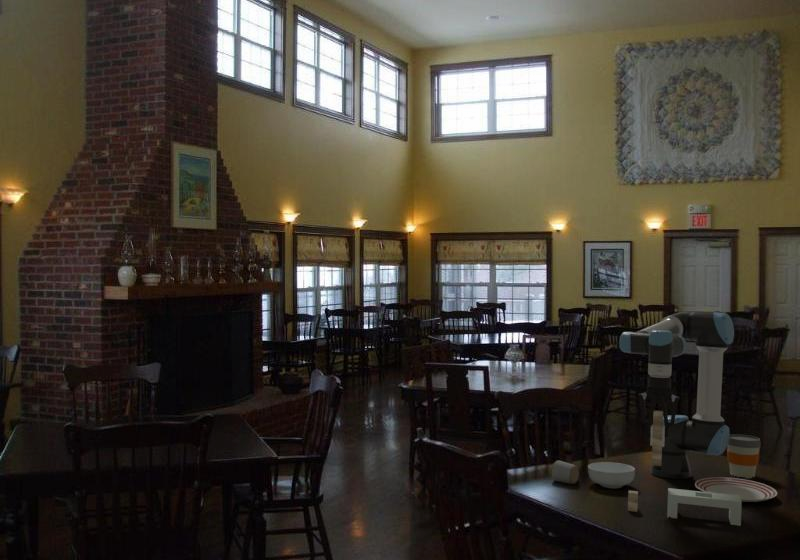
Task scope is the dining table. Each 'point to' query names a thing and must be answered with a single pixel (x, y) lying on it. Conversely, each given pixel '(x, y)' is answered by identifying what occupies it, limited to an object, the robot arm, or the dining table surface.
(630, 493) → the short pin
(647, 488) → the dining table surface
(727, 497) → the bridge
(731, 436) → the reusable coffee cup
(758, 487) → the dinner plate
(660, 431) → the tall pin
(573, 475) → the ceramic mug
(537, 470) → the dining table surface
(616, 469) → the cereal bowl
